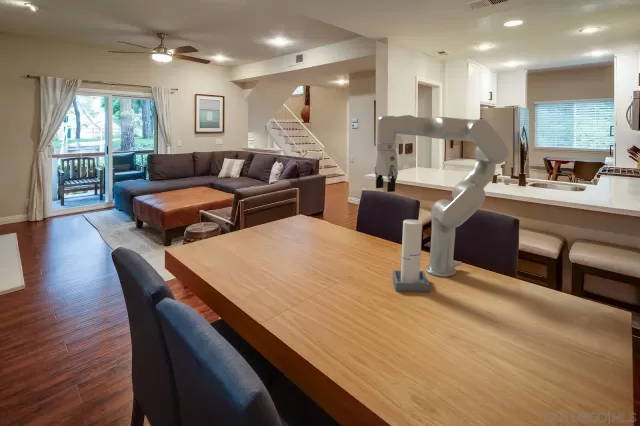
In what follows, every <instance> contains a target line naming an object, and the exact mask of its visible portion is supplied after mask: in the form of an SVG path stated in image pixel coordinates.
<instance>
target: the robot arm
mask: <svg viewBox="0 0 640 426" xmlns="http://www.w3.org/2000/svg"><path fill="white" fill-rule="evenodd" d="M376 132H377V133H376V134H377V135H376V136H377V138H376V140H377V141H376V152H377V153H376V163H375V166H374V172H375V173H374V174H375V189H383V188H384V177H385V178H386V179H387V180H388V181H387V193H392V192H393V193H395V192H396V182H397V179H398V175H399V174H398V173H399V171H398V155H397V134H399V135H407V136H417V137H426V138H431V139H436V140H437V139H439V140H449V141H461V142H473V143H474V144H475V145H476V148H475V151H474V155H475V163H474V166H473V168H472V169H471V170H470V171H469V172H468V173H467V175H465V176H464V177H463V178H462V179H461V180H460V181H459V182H458V183H457V184H456V185H455V186H454V187H453V189H452V191H451V196H452V198H453V201H452V200H449V199H442V198H441V199H438V200H437V201H435V202H434V203H433V205H432V207H431V211H430V213H431V215H430V217H431V235H430V250H429V251H430V253H429V264H427V265H426V266H425V272H427V274H429V275H433V276H436V277H442V278H443V277H447V278H448V277H452V276H455V275H456V273H457V270H456V267H461V266H463V262H462V261H456V260H454V253H455V241H456V240H455V239H456V228H458V227H460V226H461V225H463V224H464V223H465V222H466V221H468V219H470V217H472V216H473V215H474V214H475V213H476V212H477V211H478V210H479V209H480V208H482V206H483V205H484V202H485V200H486V192H485V187H487V186H488V184H489V183H490V182H491V181H492V180H493V178H494V175H495V173H496V165H499V164H503V163H504V162H505V161H506V160H507V159H508V158H509V156H510V155H509V154H510V149H509V147H508V145H507V143H506V142H505V140H504V139H503V138H502V137H501V136H500V135H499V134H498V132H497V131H496V130H495V129H494V127H493V126H492V125H491V124H490V123H489V122H488V121H487V120H484V119H480V118H479V119H472V118H471V119H468V118H460V117H459V118H456V117H446V116H435V117H434V116H433V117H419V116H414V115H411V114H406V115H399V116H395V115H381V116H379V117H378V118H377V131H376Z"/></svg>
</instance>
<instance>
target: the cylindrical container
mask: <svg viewBox="0 0 640 426" xmlns="http://www.w3.org/2000/svg"><path fill="white" fill-rule="evenodd" d="M422 234H423V221H422V220H419V219H404V220H403V221H402V240H401V243H402V244H401V261H400V262H401V265H400V267H401V268H400V270H401V282H413V283H419V274H420V271H421V270H420V268H421V253H422V252H421V251H422Z"/></svg>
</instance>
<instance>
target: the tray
mask: <svg viewBox="0 0 640 426" xmlns="http://www.w3.org/2000/svg"><path fill="white" fill-rule="evenodd" d="M392 282H393V286H394V289H395V292H400V293H401V292H403V293H404V292H405V293H407V292H408V293H430V290H431V289H430V288H431V283H430V281H429V279H428V277H427V274H426V272H425V271H424V270H420V274H419V283H413V282H401V269H400V270H399V269H397V270H396V269H393V270H392Z"/></svg>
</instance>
